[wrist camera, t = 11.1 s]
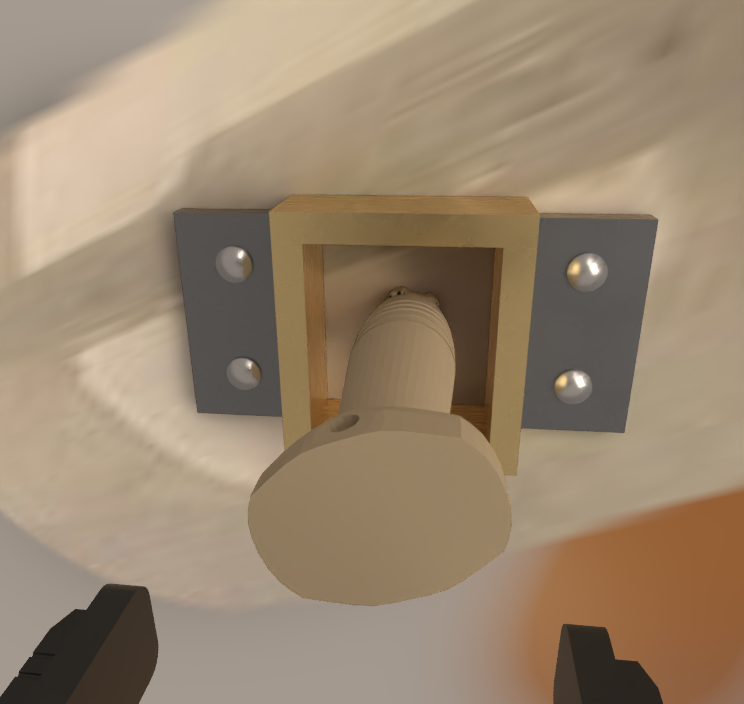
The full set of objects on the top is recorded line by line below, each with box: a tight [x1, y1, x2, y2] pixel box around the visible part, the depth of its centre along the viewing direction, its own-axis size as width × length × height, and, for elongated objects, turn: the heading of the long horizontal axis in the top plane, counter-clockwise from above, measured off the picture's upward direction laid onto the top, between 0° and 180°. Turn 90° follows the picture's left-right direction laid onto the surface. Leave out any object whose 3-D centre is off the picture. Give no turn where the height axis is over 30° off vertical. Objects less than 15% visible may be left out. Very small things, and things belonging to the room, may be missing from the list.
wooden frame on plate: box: [173, 195, 658, 476], centre depth 28 cm, size 11×20×4 cm, turn 90°
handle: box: [248, 287, 512, 606], centre depth 23 cm, size 5×6×15 cm
